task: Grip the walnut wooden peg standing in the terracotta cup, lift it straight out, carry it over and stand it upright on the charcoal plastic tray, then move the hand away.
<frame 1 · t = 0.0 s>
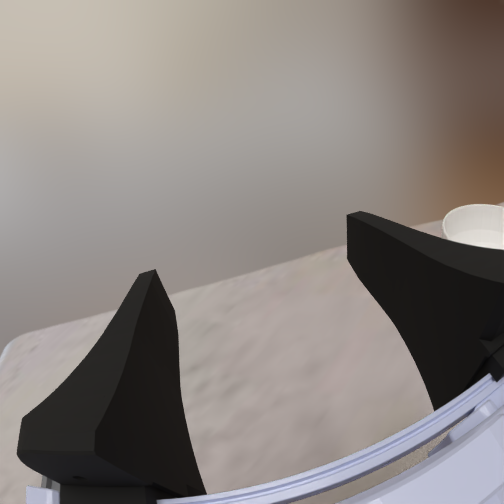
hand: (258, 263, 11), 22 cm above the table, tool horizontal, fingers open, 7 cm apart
bowl: (492, 283, 34), on the table
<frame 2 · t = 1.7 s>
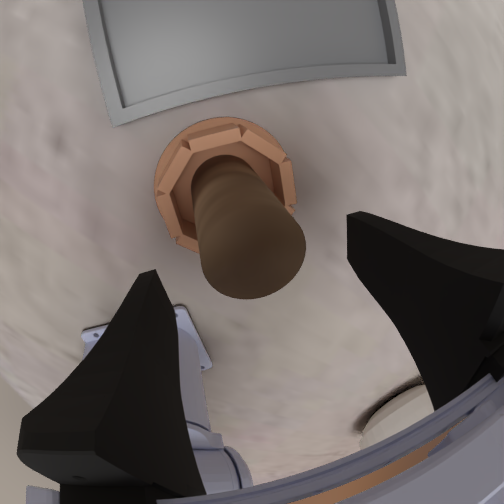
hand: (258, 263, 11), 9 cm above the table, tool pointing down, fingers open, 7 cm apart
walnut peg: (224, 186, 18), resting on terracotta cup
terracotta cup: (223, 184, 18), on the table
charcoal tray: (252, 1, 12), on the table
bowl: (396, 402, 46), on the table
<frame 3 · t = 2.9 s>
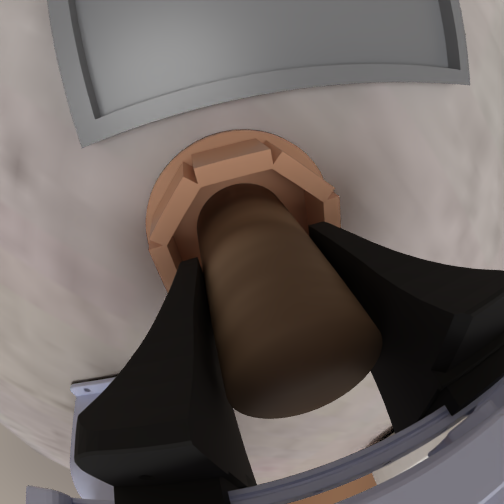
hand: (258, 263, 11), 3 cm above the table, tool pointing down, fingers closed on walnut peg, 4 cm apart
walnut peg: (242, 226, 13), resting on terracotta cup, touching gripper
terracotta cup: (240, 222, 14), on the table
bowl: (409, 424, 42), on the table
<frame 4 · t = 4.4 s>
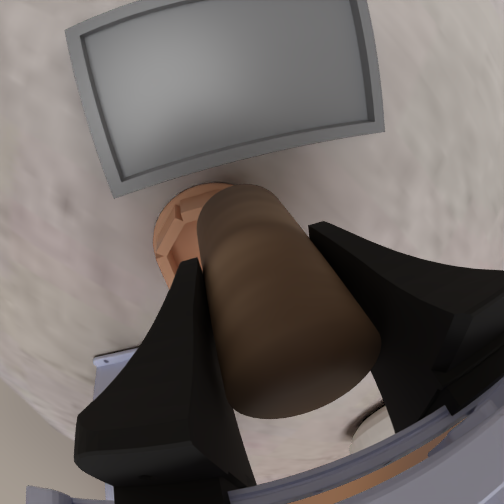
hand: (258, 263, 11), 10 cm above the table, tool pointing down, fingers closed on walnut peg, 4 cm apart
walnut peg: (242, 227, 13), point 7 cm above the table, touching gripper
terracotta cup: (213, 240, 21), on the table
charcoal tray: (236, 67, 15), on the table
bowl: (384, 411, 49), on the table
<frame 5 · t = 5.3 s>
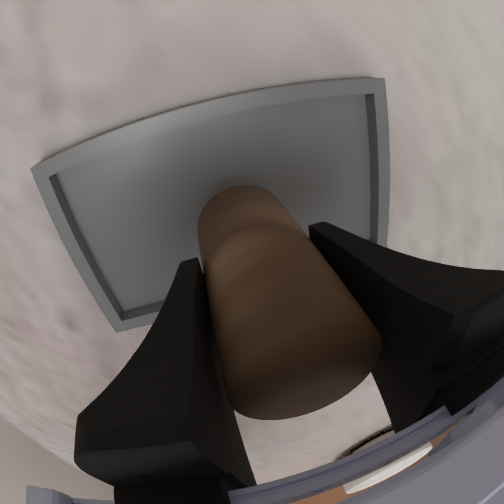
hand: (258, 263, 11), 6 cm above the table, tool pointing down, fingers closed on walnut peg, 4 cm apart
walnut peg: (242, 227, 13), point 3 cm above the table, touching gripper
charcoal tray: (230, 200, 16), on the table
bowl: (374, 441, 50), on the table
when the fingers open (5 cm above the table, at t = 6.0 s): walnut peg stays where it is, resting on charcoal tray.
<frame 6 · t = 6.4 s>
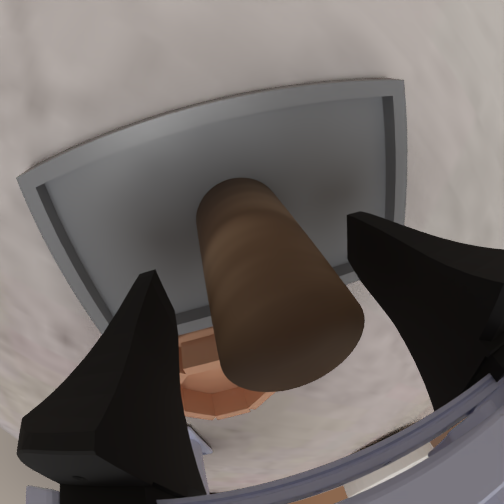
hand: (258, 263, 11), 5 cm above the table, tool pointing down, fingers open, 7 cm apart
walnut peg: (238, 218, 14), point 1 cm above the table, touching charcoal tray
terracotta cup: (215, 365, 20), on the table
charcoal tray: (235, 211, 15), on the table
bowl: (377, 446, 49), on the table
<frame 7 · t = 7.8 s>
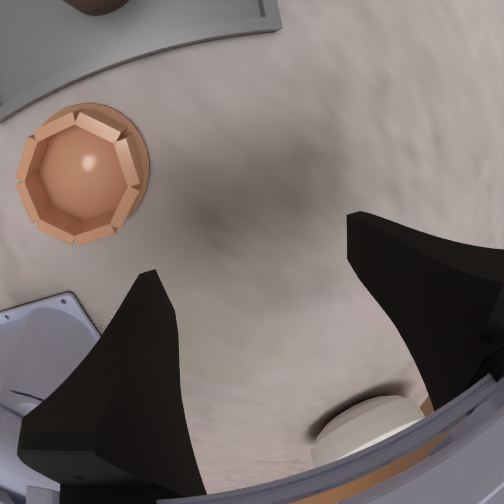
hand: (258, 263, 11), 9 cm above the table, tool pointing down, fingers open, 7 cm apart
terracotta cup: (84, 170, 16), on the table
bowl: (355, 413, 44), on the table
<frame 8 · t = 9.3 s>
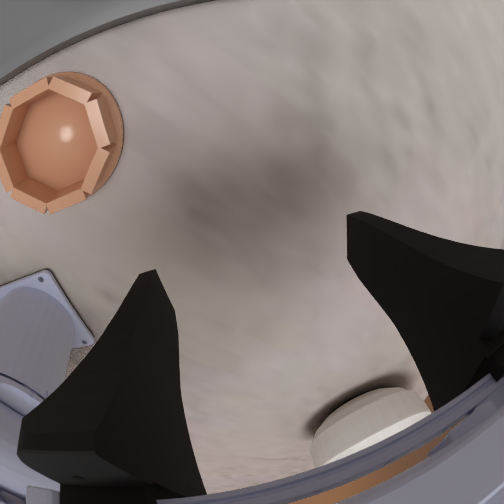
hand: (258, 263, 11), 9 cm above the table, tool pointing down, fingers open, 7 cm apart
terracotta cup: (60, 139, 14), on the table
bowl: (356, 406, 43), on the table
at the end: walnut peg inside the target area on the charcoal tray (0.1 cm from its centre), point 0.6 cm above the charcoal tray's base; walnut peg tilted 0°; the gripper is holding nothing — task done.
